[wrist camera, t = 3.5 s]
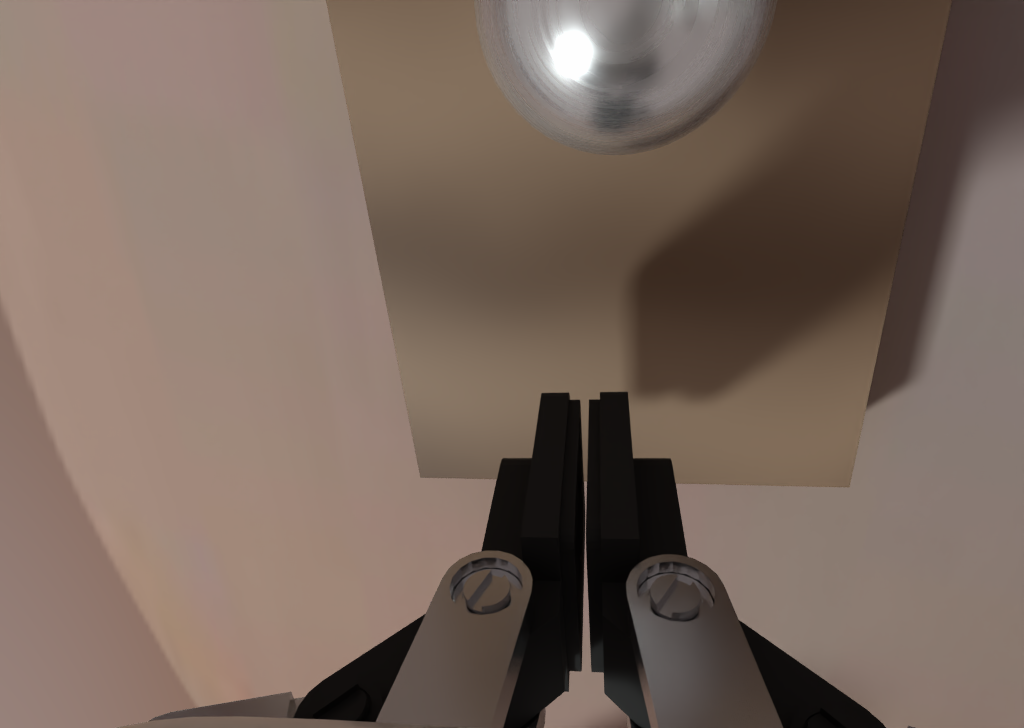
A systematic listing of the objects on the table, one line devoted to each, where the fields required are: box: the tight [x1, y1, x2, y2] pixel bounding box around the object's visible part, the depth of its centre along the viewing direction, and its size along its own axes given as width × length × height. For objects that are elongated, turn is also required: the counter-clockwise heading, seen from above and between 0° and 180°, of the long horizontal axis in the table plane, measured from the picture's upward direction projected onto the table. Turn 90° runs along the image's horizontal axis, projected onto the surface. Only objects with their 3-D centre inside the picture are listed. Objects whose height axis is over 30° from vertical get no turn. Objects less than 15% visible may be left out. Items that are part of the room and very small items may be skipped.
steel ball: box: [474, 0, 777, 155], centre depth 9 cm, size 4×4×4 cm
